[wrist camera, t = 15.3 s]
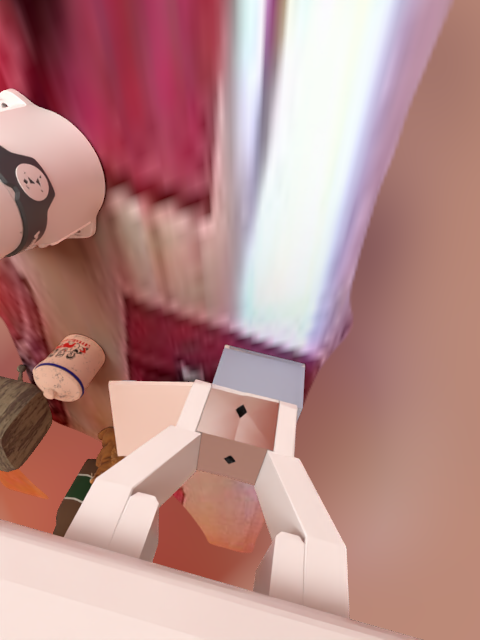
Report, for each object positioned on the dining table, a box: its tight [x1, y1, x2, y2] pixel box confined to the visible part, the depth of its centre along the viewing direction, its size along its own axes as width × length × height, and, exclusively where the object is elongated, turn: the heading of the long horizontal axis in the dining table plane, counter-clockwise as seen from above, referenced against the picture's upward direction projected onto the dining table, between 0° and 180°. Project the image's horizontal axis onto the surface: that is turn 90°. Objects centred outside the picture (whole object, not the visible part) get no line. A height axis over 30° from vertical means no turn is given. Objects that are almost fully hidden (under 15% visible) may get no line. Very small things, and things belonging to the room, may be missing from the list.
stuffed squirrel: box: [90, 427, 126, 484], centre depth 78 cm, size 10×14×13 cm
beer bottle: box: [53, 459, 99, 537], centre depth 87 cm, size 8×8×24 cm
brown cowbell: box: [0, 365, 52, 472], centre depth 68 cm, size 14×9×25 cm, turn 173°
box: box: [212, 345, 305, 421], centre depth 62 cm, size 20×14×10 cm
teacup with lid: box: [33, 334, 105, 402], centre depth 63 cm, size 12×9×12 cm
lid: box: [108, 380, 194, 456], centre depth 57 cm, size 20×15×1 cm
